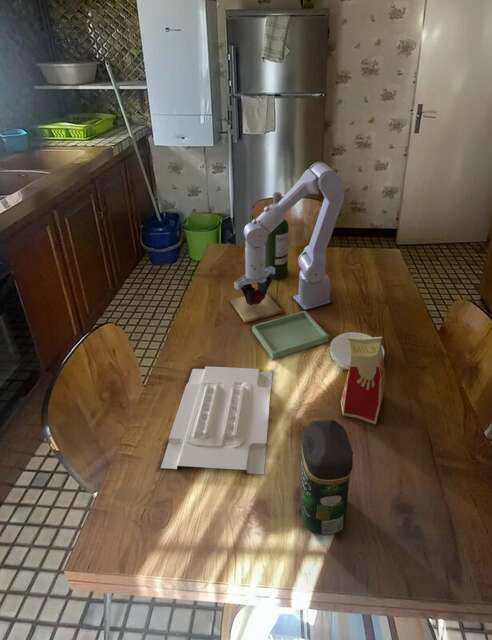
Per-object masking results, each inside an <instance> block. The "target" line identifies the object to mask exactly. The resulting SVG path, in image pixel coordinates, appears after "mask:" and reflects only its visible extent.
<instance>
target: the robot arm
mask: <svg viewBox="0 0 492 640" xmlns="http://www.w3.org/2000/svg"><path fill="white" fill-rule="evenodd" d="M319 191H320V192H321V194H322V196H323V202H322V204H321V207H320V210H319V213H318V216H317V220H316V223H315V226H314V229H313V232H312V235H311V238H310V240H309V244H308V245H307V246H305V247H304V249H303V251H302V253H301V254H300V255H299V256H298V258H297V265H298V267H299V268H300V271H299V274H298V275H299V276H298V294H295V295H293V296H292V299H294V300H295V301H296V302H297V304H298V305H299V306H300V307H301V308H302V309H303V311H306V310H311V309H314V308H317V307H321V306H324V305H327V304H330V303H331V300H330V293H331V281H330V278H329V276H328V274H327V272H326V271H327V270H326V266H327V255H326V251H327V249H328V246H329V243H330V240H331V237H332V235H333V231H334V229H335V226H336V223H337V220H338V218H339V214H340V212H341V208H342V206H343V203H344V200H345V193H344V188H343V179H342V178H341V176H340V175H339V174H338V172H336V171H335V170H333V169H332V168H331V167H330V166H329V165H328V164H327V163H325V162H324V161H316V162H314V163H312V165H310V167H309V168H308V169H306V170H305V171H304V172H303V174H302V175H301V177H300V178H299V179H298V181H296V183H295V184H294V185H293V186H292V187H291V188H290V189H289V190H288V191H287V192H286V193H285V195H284V196H282V197H281V200H280V201H279V203H278V204H273V203H271V204H270V205H266V206H264V208H263V212H261V213H260V214H259V215H258V216H257V217H256V218H254V219H252V221H251V222H249V223H247V224H246V225H245V226H244V229H243V230H242V234H243V236H244V237H245V242H244V243H245V247H244V254H245V255H244V259H245V260H244V261H245V273H244V274H243V275H242V276H241V277H240V278H238V279H237V280H236V281H234V282H233V287H234V289H235V290H237V291H241V292H242V294H243V297H244V296H245V299H246V302H247V304H249V305H250V306H251V305H253V295H254V291H255V290H256V288H255V287H253V285H252V284H257V290H259V291H261V292H262V294H263V299H264V298H265V295H266V293H267V291H268V289H269V287H270V285H271V284H272V282H273V279H272V278H270V277H269V275H270V274H272V275H273V274H275V268H274V267H272V266H270V267H267V268H265V243H266V242H267V238H268V235H269V234H270V233H271V232H272V231H273V230H274V229H275V228H276V227H277V226H278V225H279V224H280V223H281V222H282V221H283V220H284V219H285V220H286V215H287V212H288V211H290V209H292V207H294V206H295V205H296V204H297V203H298V202H299V201H301V200H302V199H303V198H304V197H305V196H306V195H319V194H320V192H319Z"/></svg>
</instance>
